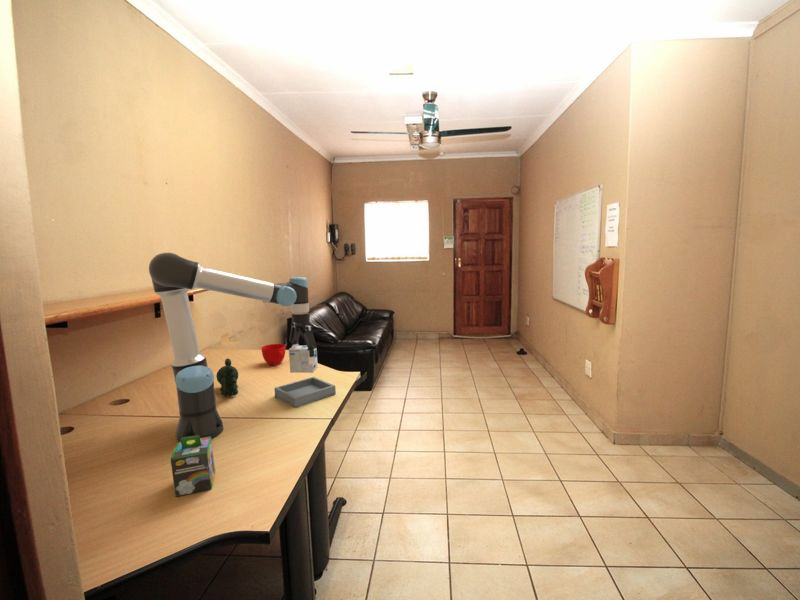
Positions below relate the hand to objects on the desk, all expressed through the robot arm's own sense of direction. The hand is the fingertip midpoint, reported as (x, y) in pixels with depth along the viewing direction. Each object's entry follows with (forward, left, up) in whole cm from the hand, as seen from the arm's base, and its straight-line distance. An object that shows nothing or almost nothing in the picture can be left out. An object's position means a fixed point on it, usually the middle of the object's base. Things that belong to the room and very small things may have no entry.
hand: (303, 361), depth 171 cm
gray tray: (0, 0, -16) cm, 16 cm away
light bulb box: (0, 0, -5) cm, 5 cm away
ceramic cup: (+13, +54, -16) cm, 58 cm away
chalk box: (-56, -36, -16) cm, 69 cm away
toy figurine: (-22, +30, -16) cm, 41 cm away
